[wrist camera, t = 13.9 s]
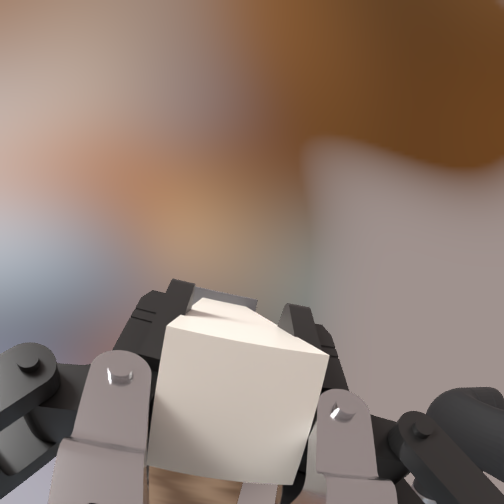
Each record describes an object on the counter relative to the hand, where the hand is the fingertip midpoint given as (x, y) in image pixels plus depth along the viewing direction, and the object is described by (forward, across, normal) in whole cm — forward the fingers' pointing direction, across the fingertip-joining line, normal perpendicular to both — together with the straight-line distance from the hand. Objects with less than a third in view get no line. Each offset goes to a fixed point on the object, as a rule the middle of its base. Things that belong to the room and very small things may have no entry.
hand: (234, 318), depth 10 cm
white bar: (+3, 0, +5) cm, 6 cm away
